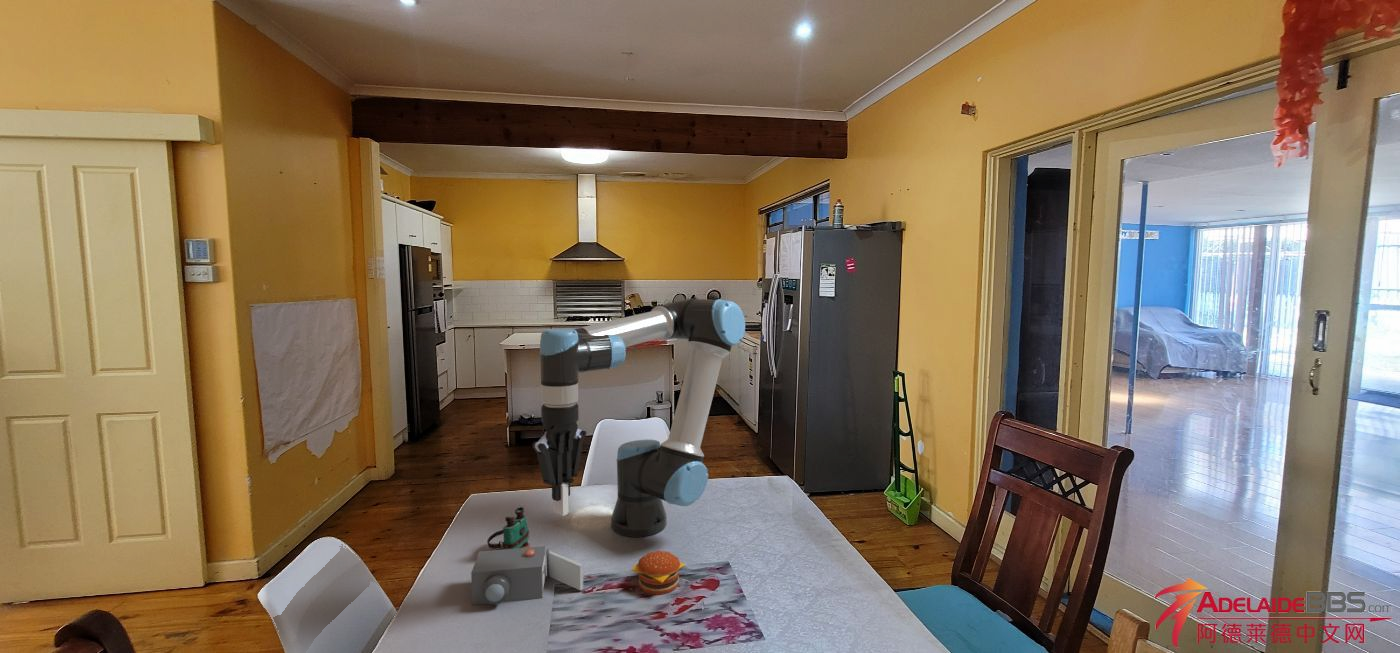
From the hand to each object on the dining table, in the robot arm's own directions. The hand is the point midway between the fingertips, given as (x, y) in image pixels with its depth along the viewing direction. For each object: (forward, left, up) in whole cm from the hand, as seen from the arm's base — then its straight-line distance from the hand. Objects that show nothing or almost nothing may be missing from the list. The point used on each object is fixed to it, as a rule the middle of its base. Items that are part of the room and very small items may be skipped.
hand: (561, 513), depth 118 cm
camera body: (+11, -2, -18) cm, 21 cm away
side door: (0, -4, -18) cm, 18 cm away
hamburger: (-21, -1, -18) cm, 28 cm away
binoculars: (+14, -21, -18) cm, 31 cm away
